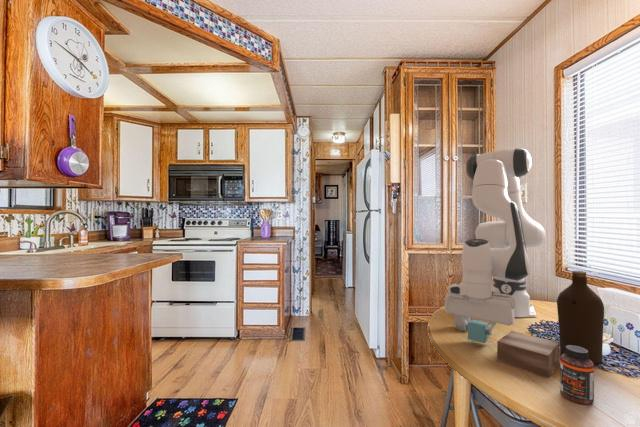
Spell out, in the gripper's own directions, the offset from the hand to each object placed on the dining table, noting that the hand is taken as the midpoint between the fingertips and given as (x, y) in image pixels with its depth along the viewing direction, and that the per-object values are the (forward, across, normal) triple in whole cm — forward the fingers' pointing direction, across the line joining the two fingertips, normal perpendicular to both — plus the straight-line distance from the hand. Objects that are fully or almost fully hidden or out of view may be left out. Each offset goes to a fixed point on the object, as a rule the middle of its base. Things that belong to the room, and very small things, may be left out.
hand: (478, 332), depth 99 cm
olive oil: (+4, -25, -10) cm, 27 cm away
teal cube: (+2, 0, 0) cm, 2 cm away
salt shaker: (+4, +8, -10) cm, 14 cm away
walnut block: (+4, -14, +4) cm, 15 cm away
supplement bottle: (+4, -25, +17) cm, 30 cm away
